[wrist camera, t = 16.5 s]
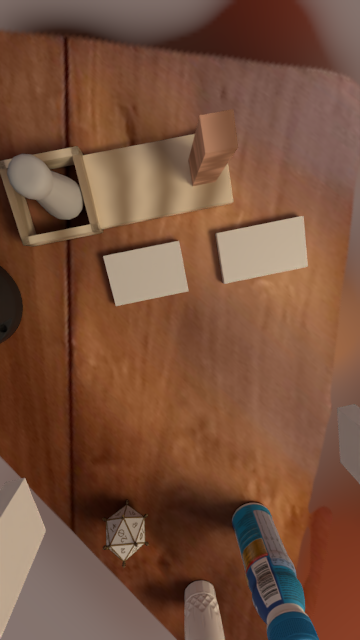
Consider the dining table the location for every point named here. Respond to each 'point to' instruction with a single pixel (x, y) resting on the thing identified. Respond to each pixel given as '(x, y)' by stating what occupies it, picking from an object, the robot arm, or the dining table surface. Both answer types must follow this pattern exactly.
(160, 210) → the wooden tray with post
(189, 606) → the white cup
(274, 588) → the beverage bottle
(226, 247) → the broken strip
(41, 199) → the salt shaker
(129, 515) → the game die
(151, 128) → the dining table surface
